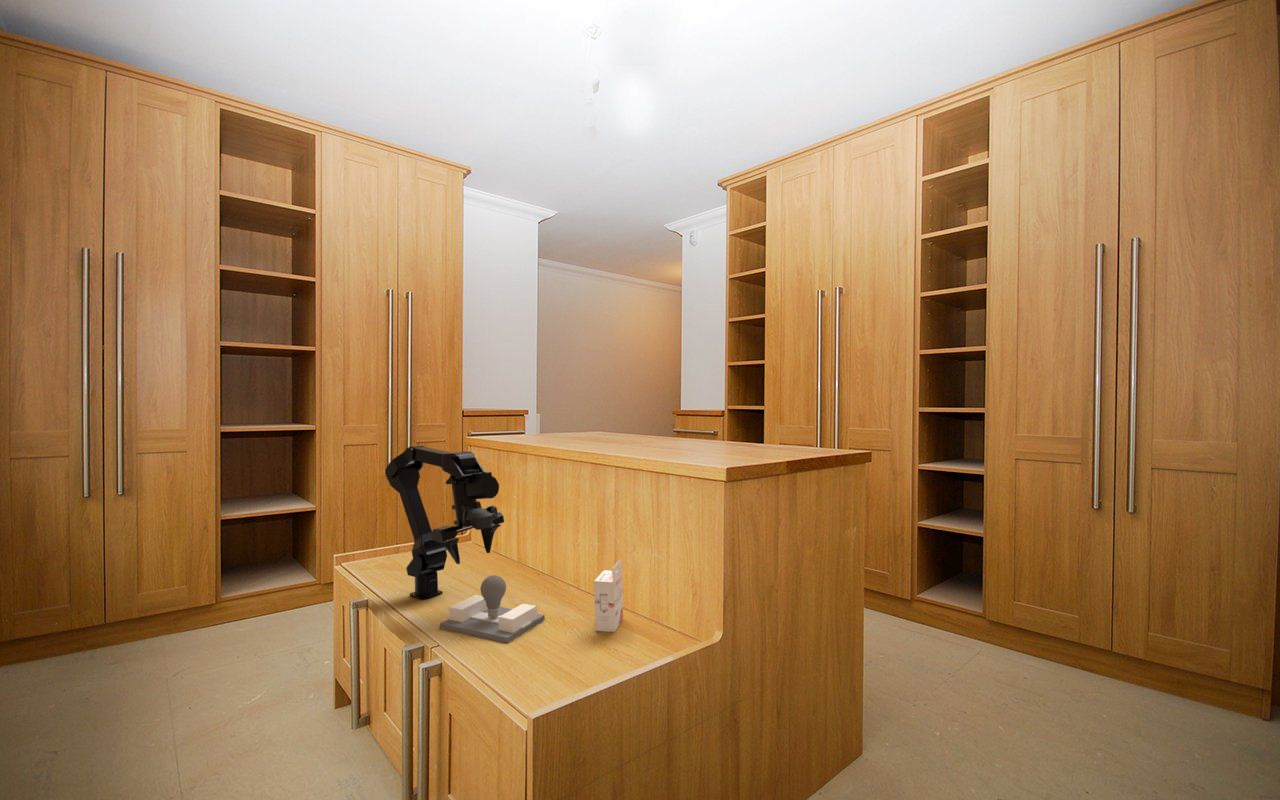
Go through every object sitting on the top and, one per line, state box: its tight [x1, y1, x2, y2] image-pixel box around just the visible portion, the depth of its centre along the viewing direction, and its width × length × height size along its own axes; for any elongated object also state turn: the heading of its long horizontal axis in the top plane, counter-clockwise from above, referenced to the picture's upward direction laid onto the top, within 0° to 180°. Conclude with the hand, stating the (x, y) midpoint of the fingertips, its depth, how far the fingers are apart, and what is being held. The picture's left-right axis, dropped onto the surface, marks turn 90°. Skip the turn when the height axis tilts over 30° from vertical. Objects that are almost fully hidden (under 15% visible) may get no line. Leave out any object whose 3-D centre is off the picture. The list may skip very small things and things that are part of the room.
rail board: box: [439, 594, 546, 644], centre depth 133 cm, size 20×14×4 cm
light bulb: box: [479, 574, 507, 618], centre depth 133 cm, size 6×6×10 cm
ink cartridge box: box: [593, 558, 624, 633], centre depth 131 cm, size 9×5×15 cm, turn 168°
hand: (473, 558), depth 145 cm, fingers open, 9 cm apart
